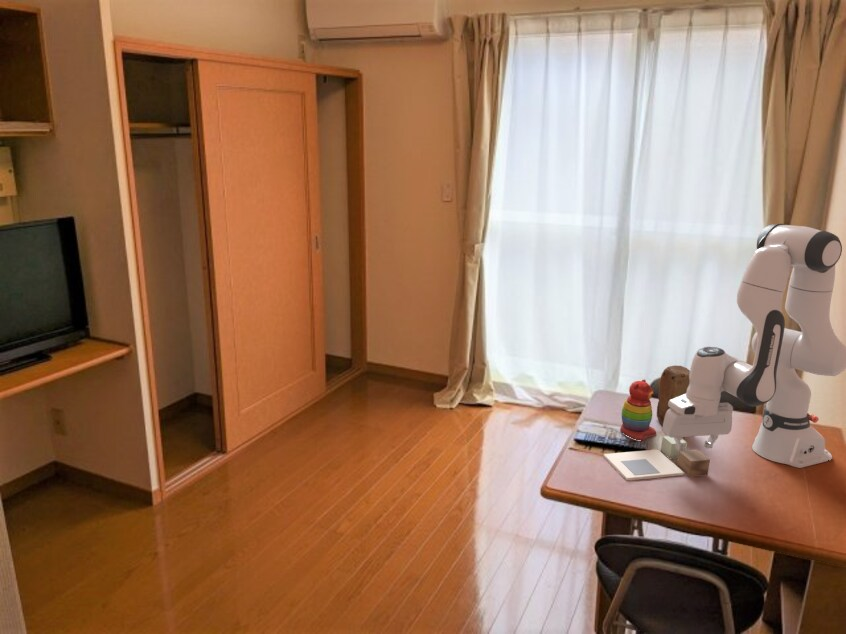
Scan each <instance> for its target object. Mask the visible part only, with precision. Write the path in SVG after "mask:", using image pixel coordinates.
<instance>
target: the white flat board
mask: <svg viewBox="0 0 846 634" xmlns="http://www.w3.org/2000/svg"><path fill="white" fill-rule="evenodd" d="M602 456H603V459H605V460H606V461H607V463H609V464H610V466H612V468H614V469H615V471H617V472H618V473H619V475H621V477H623V478H624V480H625V481H627V482H628V481H637V480H638V481H639V480H647V479H656V478H658V479H659V478H666V477H669V478H670V477H675V476H677V477H678V476H684V475H685V473H684V472H683V471H682V470H681V469H680V468H678V467H677V465H676V464H675V463H674V462H673V461H672V460H671V459H670V458H668V457H667V456H666V455H665V454H664V453H663V452H662V451H661V450H659V449H649V450H646V449H645V450H636V451H635V450H634V451H625V452H613V453H603V455H602Z"/></svg>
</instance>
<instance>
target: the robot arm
mask: <svg viewBox="0 0 846 634" xmlns="http://www.w3.org/2000/svg"><path fill="white" fill-rule="evenodd" d="M841 242H842V241H841V240H840V238H839V236H838V235H836V234H835V233H832V232H830V231H826V230H820V229H817V228H814V227H809V226H805V225H802V226H801V225H792V224H791V225H790V224H785V223H772V224H768V225H767V226H765V227H764V228H763V229H762V230H761V231H760V233H759V234H758V236H757V240H756V250H755V251H754V253H753V255H752V256H751V258H750V260H749V262H748V263H747V266H746V267H745V270H744V273H743V275H742V277H741V280H740V284H739V286H738V290H737V293H736V303H737V307H738V309H739V310H740V311H741V313H742V314H743V315H744V316H745V317H746V319H748V320H749V322H750V323H751V324H752V325H753V327H754V329H755V331H756V332H755V333H754V334H753V336H752V339H751V349H752V351H753V354H754V356H753V357H754V359H753V363H752V365H751V364H750V363H747V362H746V361H743V360H741V359H739V358H737V357H734V356H732V355H729V353H727V352H726V351H725V350H724V349H722V348H720V347H716V346H705V347H704V346H703V347H701V348H698V350H697V351H696V352H695V354H694V356H693V357H692V360H691V365H690V369H689V371H690V374H689V380H690V383H689V386H688V388H687V392H686V394H683V395H681V396H679V397H676V398H674V399H671V400H669V402H668V406H669V407H670V409H668V410H667V412H666V414H665V418H664V422H663V425H662V431H663V433H664V435H665V436H669V437H671V438H674V440H675V442H676V446H675V448H676V449H677V450H683V449H684V445H683V444H682V443H681V442H680V440H682V439H683V438H684V437H685V438H686V437H688V438H689V437H702V436H703V437H705V436H709V438H708V439H707V440H705V441H704V445H703V446H704V448H706V449H707V450H708V449H713V446H714V443H716V441H717V440H718V439H719V436H720V435H721V436H722V435H729V433H730V432H731V431H732V428H733V411H734V406H733V405H732V404H730V403H729V402H720V401H721V396H722V395H721V393H722V392H726V393H729V394H730V395H732V396H734V397H736V398H737V399H738V400H740V401H741V402H743V403H744V404H746V405H747V406H749V407H759V406H763V405H764V408H763V412H762V419H761V420H762V421H761V423H760V426H759V429H758V433H757V435H756V436H755V438H754V442H753V444H752V446H751V448H752V450H753V451H754V452H755V454H757V455H759V456H760V457H762V458H764V459H767V460H769V461H772V462H774V463H775V462H776V463H779V464H786V465H788V466H791V467H794V468H799V469H802V468H806V467H809V466H813V465H816V464H821V463H825V462H829V461H832V460H833V456H832V453H830V452H829V450H827V449H826V440H825V437H824V436H823V435H822V433H820V432H819V431H817V429H815V428H814V427H813V426H812V425H811V422H812V423H813V424H817V423H818V422H819V417H818V416H816V415H815V414H810V413H808V412H809V407H810V403H811V402H810V401H811V399H812V391H811V388H810V386H809V385H808V384H807V383H806V381H804V380H803V379H802V378H801V377H799V375H798V373H797V372H796V370H799V371H803V372H805V373H809V374H813V375H817V376H825V377H826V376H827V377H836V376H839V375H840V374H842V373H843V372H844V371H845V369H846V345H845V343H843V342H842V341H841V340H840V338H838V336H837V335H836V333H835V332H834V329H833V327H832V324H831V319H830V317H831V316H830V312H831V303H832V297H833V291H834V286H835V278H836V265H837V263H838V262H839V260H840V258H841V256H842V253H843V246H842V243H841ZM790 272H791V274H790ZM788 281H789V282H788ZM787 285H788V287H787ZM786 288H787V292H786V298H785V299H786V300H785V304H784V309H785V312H786V314H787V315H788V316H789V318H790V319H792V320H793V321H794V322H795V323H797V324H798V327H800V329H801V330H800V331H798V330H795V329H790V328H786V327H785V326H786V319H785V317H784V314H783V299H784V294H785V291H786ZM831 459H832V460H831ZM828 460H829V461H828Z"/></svg>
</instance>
